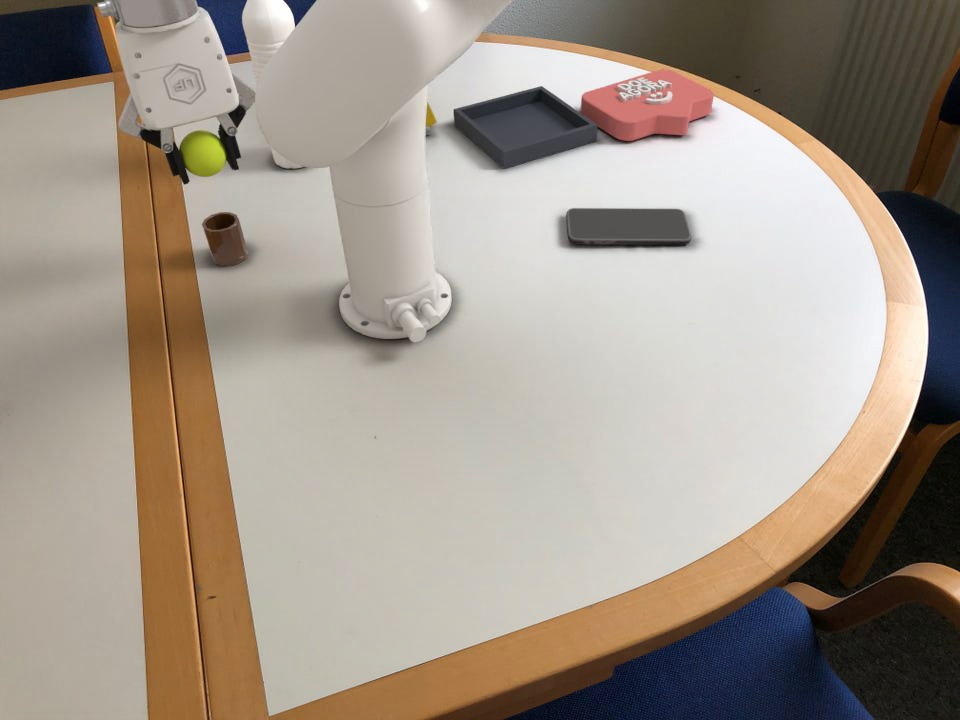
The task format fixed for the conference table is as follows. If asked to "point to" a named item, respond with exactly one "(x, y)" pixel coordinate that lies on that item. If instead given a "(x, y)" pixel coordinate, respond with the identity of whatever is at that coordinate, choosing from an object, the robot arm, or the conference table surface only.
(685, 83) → the plaque
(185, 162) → the ball
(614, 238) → the smartphone
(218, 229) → the cup
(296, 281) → the conference table surface
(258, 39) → the water bottle
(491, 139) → the tray
